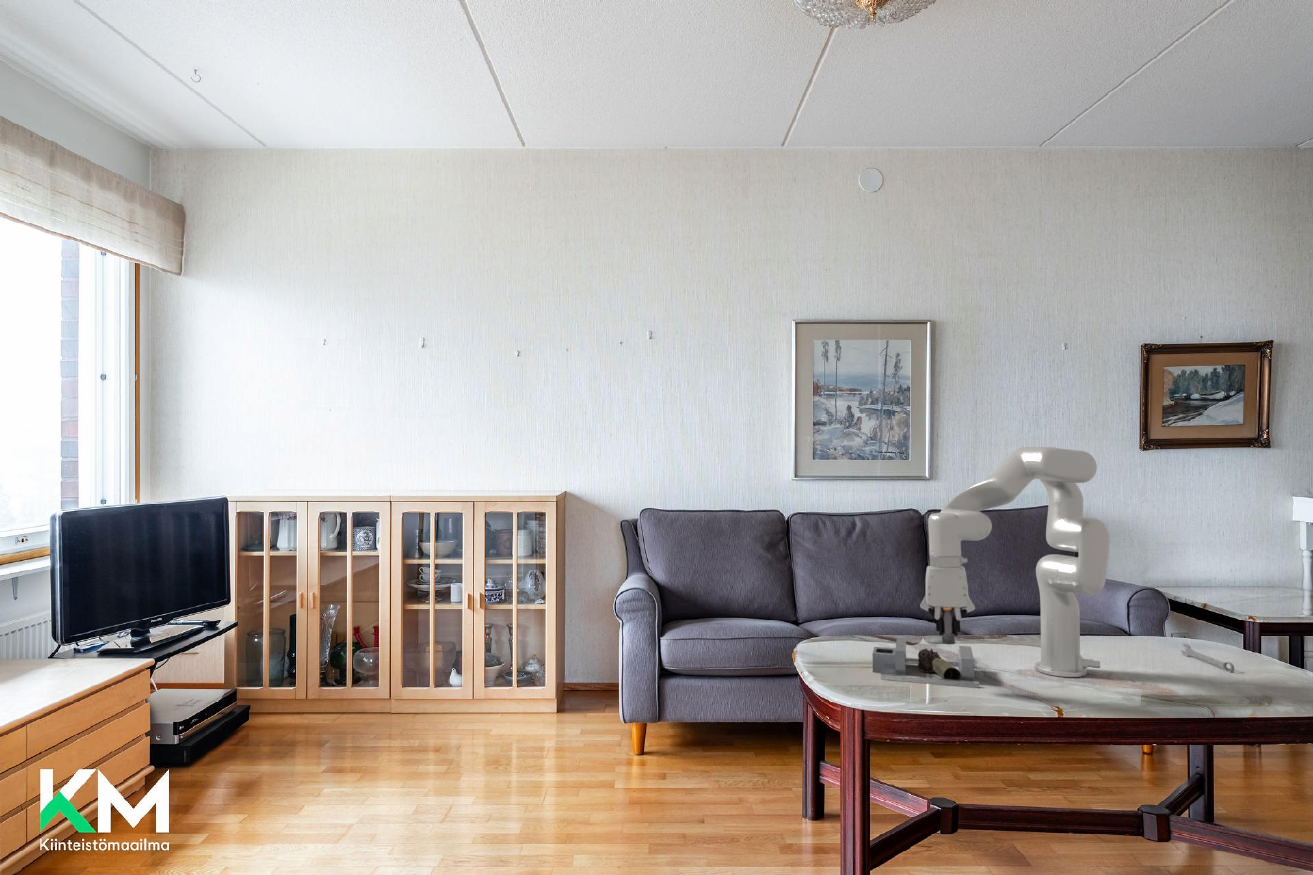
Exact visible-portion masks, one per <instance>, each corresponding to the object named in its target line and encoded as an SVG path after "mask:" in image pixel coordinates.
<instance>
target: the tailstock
mask: <svg viewBox="0 0 1313 875" xmlns="http://www.w3.org/2000/svg"><path fill="white" fill-rule="evenodd" d="M895 642H896V643H895V647H883V646H882V647H881V646H874V647H873V651H872V673H879V674H881V673H882V674H894V675H905V676H906V673H907V663H906V657H907V639H906V638H905V639H904V638H896V641H895Z"/></svg>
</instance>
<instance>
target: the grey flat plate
mask: <svg viewBox="0 0 1313 875" xmlns="http://www.w3.org/2000/svg"><path fill="white" fill-rule="evenodd" d="M918 659H919V657H907V656H906V664H907V663H908V664H919V661H918ZM944 660H945V661H946V662H948V663H949V664H950V665H952V666H953V667H955V668H958V660H956V661H955V660H947V659H944ZM974 669H975V663H974ZM880 680H887V681H895V682H896V681H898V682H908V683H909V682H910V683H921V684H930V685H940V686H941V685H943V686H956V687H965V688H977V689H980V682H979V681H975V680H974V681H963V680H961V679H960V680H952V679H943V678H941V677H940V678H939V677H930V676H929V677H926V676H915V675H906V674H905V675H895V674H889V673H880Z"/></svg>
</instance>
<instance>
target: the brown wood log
mask: <svg viewBox="0 0 1313 875" xmlns="http://www.w3.org/2000/svg"><path fill="white" fill-rule="evenodd" d="M917 658H919V659H918V661H919V664H918V663H917V664H918V665H917V666H918V669H919V670H920V671H922V672H924V673H933V674H934V673H935V674H937V675H938V676H939V677H940V678H941V679H952V680H961V673H960V671H959V668H958V669H957V667H955V666H952V665H950V664H949V663H948V662H946V661H945V660H946V659H942V657H941V656H940V654H939V653H938V651H934V650H933V648H931V649H928V648H922V649H921V650H919V651H918V654H917Z"/></svg>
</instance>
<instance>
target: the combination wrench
mask: <svg viewBox="0 0 1313 875" xmlns="http://www.w3.org/2000/svg"><path fill="white" fill-rule="evenodd" d="M1181 646H1183V647H1184V648H1185V651H1184V650H1183V649H1181V650H1180V652H1181V654H1182V655H1183V656H1184V657H1186V658H1187V657H1190V656H1193V658H1194V657H1195V658H1197V659H1198V660H1202V661H1204V662H1207V663H1209V664H1211V665H1214V666H1216V667H1219V668H1222V669H1223V670H1224V671H1225V672H1227V673H1234V672H1235V665H1234V664H1233V663H1232V662H1230V661H1222V660H1221V661H1220V660H1218V659H1215V658H1214V657H1211V656H1208V655H1205V654H1203V653H1200V652H1197V651H1195V650H1193V649H1192V648H1191V646H1190V645H1189V644H1188V643H1181ZM1228 665H1229V666H1230V670H1228V667H1227V666H1228Z"/></svg>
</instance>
